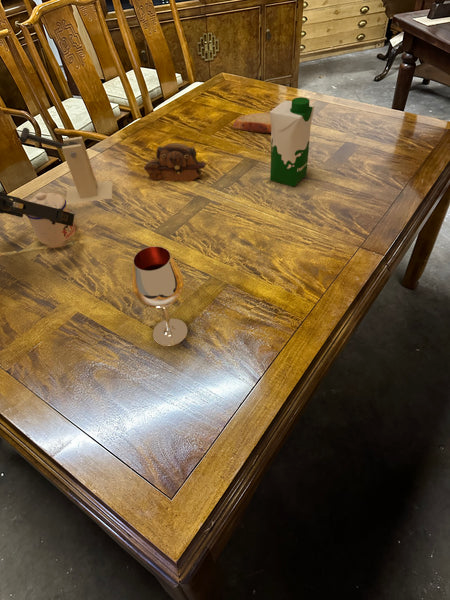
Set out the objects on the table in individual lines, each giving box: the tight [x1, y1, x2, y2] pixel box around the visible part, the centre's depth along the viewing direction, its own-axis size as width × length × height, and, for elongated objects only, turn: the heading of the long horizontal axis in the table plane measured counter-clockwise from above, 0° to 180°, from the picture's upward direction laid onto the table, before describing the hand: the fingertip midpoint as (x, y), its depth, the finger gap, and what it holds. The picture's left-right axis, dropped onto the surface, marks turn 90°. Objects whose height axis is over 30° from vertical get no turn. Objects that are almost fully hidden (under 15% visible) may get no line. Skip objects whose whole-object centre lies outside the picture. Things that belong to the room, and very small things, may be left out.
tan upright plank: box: [61, 136, 113, 206], centre depth 105 cm, size 12×9×15 cm
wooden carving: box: [143, 142, 207, 182], centre depth 109 cm, size 16×5×10 cm, turn 88°
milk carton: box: [269, 96, 315, 188], centre depth 103 cm, size 9×9×20 cm
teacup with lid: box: [25, 191, 77, 249], centre depth 95 cm, size 12×9×12 cm
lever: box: [19, 127, 78, 150], centre depth 99 cm, size 13×5×2 cm, turn 101°
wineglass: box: [131, 245, 188, 347], centre depth 70 cm, size 8×8×18 cm
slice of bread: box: [232, 111, 271, 134], centre depth 129 cm, size 18×18×4 cm
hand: (46, 215), depth 94 cm, fingers open, 13 cm apart
